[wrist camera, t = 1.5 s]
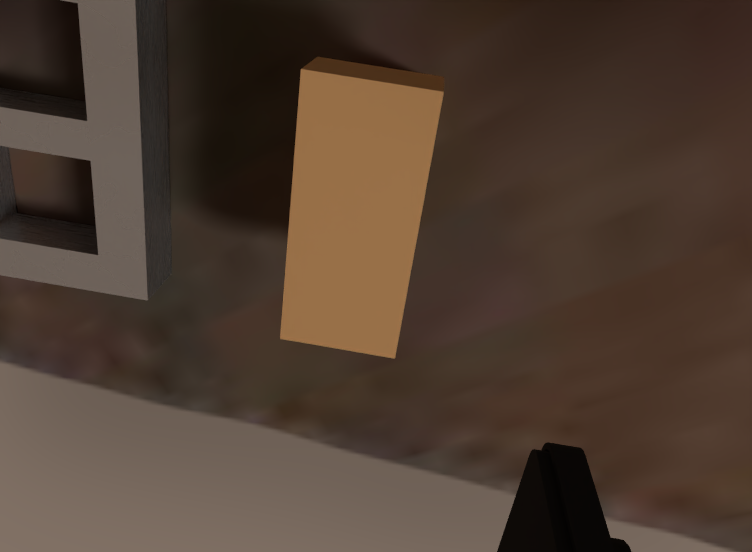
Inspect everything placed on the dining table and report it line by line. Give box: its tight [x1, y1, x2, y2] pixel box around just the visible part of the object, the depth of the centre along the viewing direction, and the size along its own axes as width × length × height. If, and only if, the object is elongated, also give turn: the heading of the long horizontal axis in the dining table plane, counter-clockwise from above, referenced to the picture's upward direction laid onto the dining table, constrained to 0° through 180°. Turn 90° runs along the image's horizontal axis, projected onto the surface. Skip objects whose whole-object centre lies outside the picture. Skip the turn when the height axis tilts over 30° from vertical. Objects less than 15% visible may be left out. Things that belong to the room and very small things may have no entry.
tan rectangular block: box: [280, 57, 444, 359], centre depth 22 cm, size 4×9×6 cm, turn 172°
